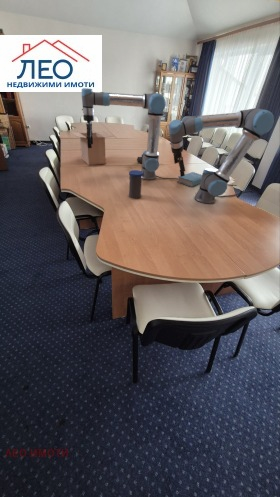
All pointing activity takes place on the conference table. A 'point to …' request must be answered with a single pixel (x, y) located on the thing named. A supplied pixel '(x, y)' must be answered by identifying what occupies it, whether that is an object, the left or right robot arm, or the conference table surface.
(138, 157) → the laser sight
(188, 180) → the book
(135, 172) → the lid
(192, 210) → the conference table surface
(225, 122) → the right robot arm
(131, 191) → the jar
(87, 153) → the box
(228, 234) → the conference table surface
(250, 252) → the conference table surface
